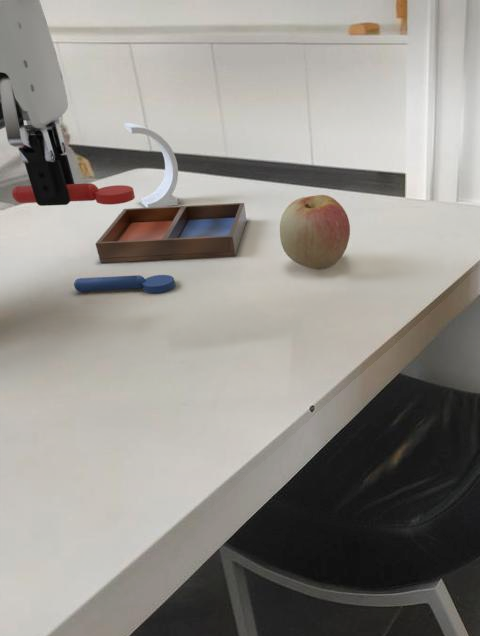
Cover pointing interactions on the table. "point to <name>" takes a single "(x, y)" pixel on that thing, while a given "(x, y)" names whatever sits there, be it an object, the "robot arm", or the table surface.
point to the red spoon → (82, 193)
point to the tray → (173, 233)
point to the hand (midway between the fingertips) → (57, 200)
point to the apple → (315, 231)
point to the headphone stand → (168, 184)
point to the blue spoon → (126, 283)
